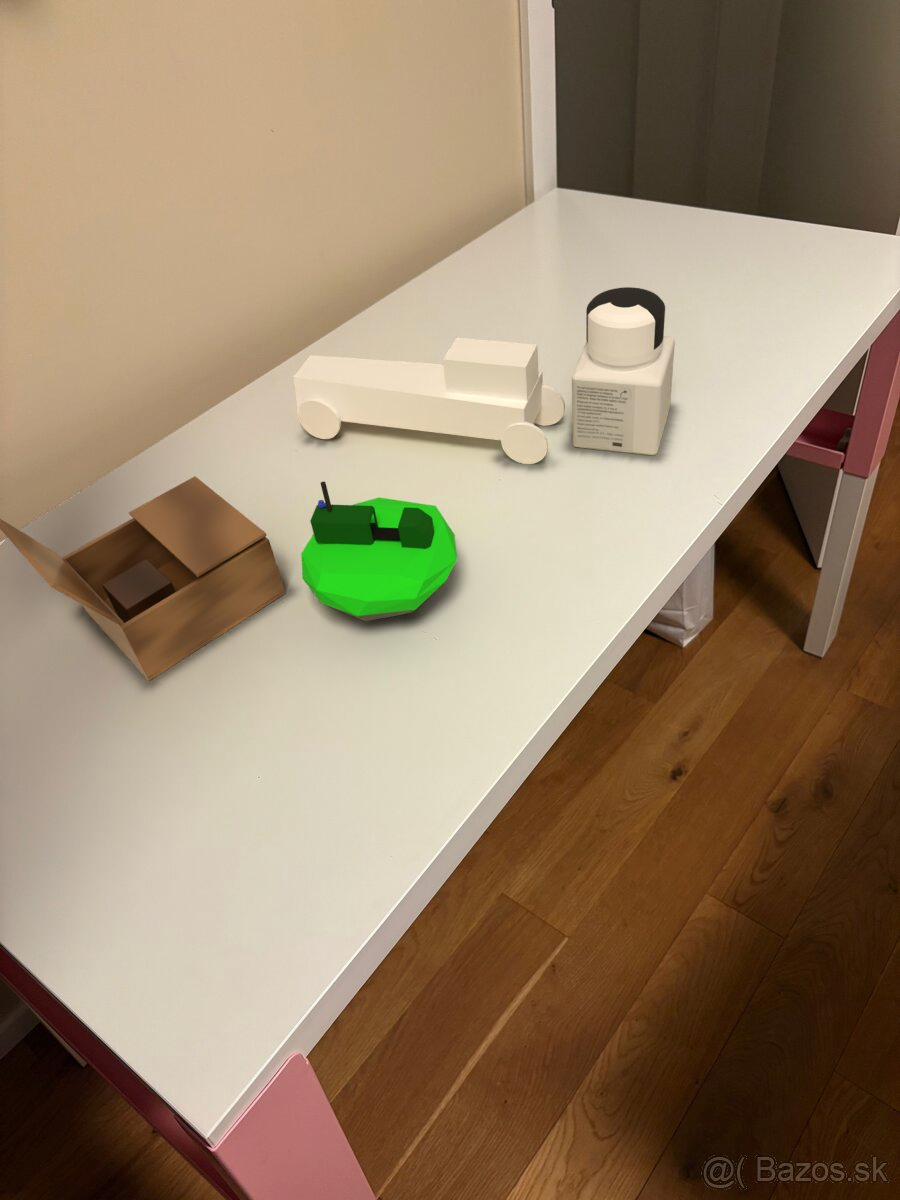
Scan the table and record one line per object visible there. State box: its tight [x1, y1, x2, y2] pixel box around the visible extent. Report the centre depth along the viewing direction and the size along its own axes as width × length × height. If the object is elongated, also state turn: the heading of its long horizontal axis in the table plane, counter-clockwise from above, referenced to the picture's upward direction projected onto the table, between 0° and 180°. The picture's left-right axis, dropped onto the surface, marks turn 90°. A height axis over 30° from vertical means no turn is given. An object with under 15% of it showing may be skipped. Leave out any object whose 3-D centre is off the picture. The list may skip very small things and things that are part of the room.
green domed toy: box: [300, 481, 458, 622], centre depth 72 cm, size 12×12×11 cm
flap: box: [0, 518, 119, 624], centre depth 68 cm, size 6×11×1 cm
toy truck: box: [293, 337, 566, 465], centre depth 88 cm, size 25×7×9 cm, turn 71°
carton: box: [60, 475, 287, 682], centre depth 75 cm, size 13×11×7 cm
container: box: [571, 286, 676, 456], centre depth 84 cm, size 8×8×13 cm
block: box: [102, 559, 176, 623], centre depth 75 cm, size 4×4×4 cm
